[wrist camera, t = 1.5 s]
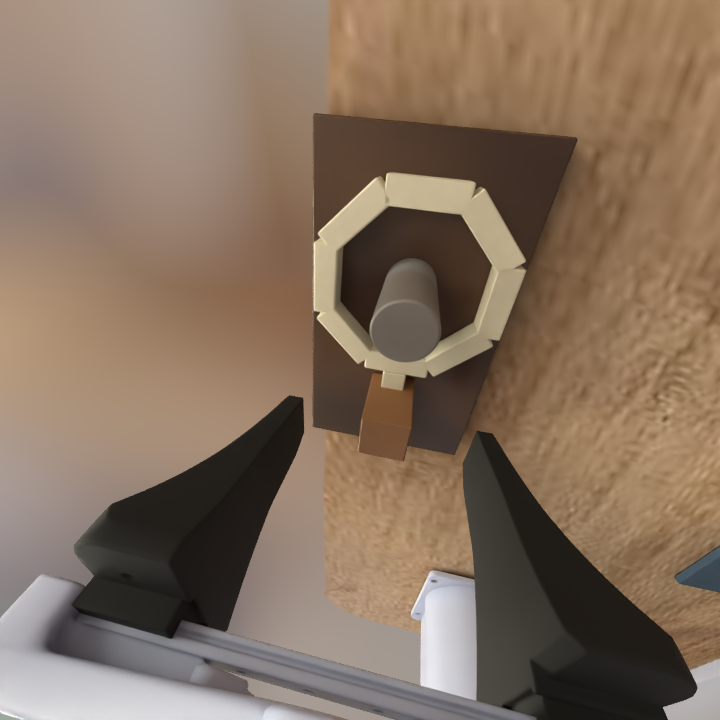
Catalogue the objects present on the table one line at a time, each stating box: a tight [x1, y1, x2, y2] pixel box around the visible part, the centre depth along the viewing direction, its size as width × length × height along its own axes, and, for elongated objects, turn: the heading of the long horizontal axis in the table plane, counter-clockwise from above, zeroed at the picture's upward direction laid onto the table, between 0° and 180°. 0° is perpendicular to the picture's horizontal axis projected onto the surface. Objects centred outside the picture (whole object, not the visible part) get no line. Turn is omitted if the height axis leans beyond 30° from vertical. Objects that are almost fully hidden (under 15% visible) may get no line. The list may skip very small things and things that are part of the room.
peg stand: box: [312, 113, 577, 455], centre depth 12 cm, size 14×8×5 cm, turn 175°
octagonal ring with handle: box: [314, 172, 526, 461], centre depth 12 cm, size 12×7×3 cm, turn 175°
